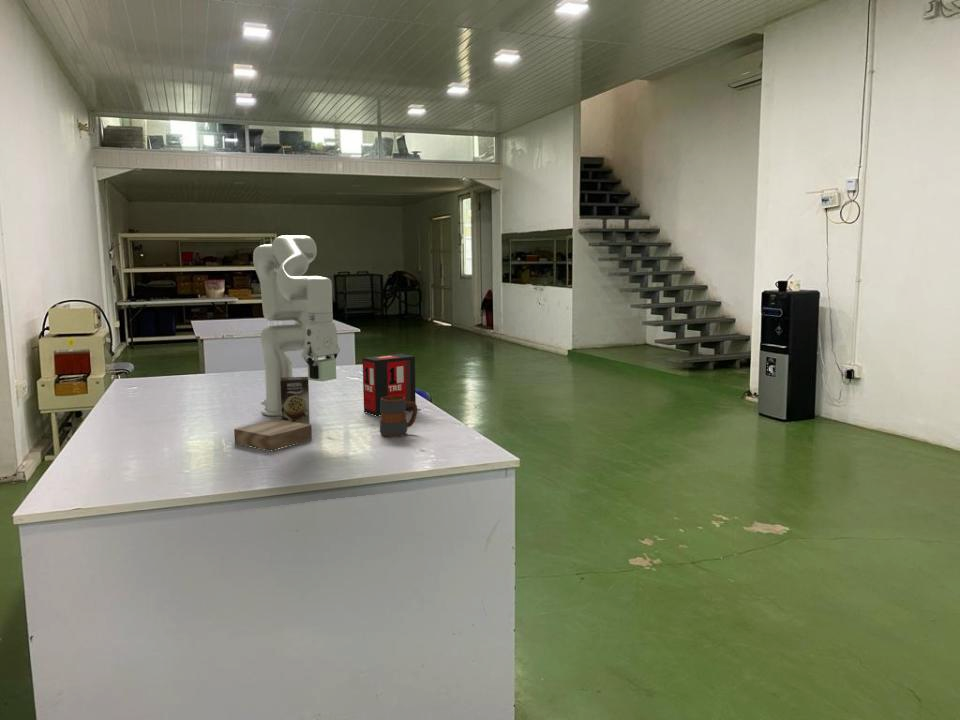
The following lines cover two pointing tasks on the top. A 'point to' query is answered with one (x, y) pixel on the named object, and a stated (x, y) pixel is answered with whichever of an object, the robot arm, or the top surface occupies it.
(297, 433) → the walnut block
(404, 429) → the mug
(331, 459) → the top surface
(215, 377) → the top surface
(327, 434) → the top surface
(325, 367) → the sage cube
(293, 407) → the coffee box
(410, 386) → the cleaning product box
